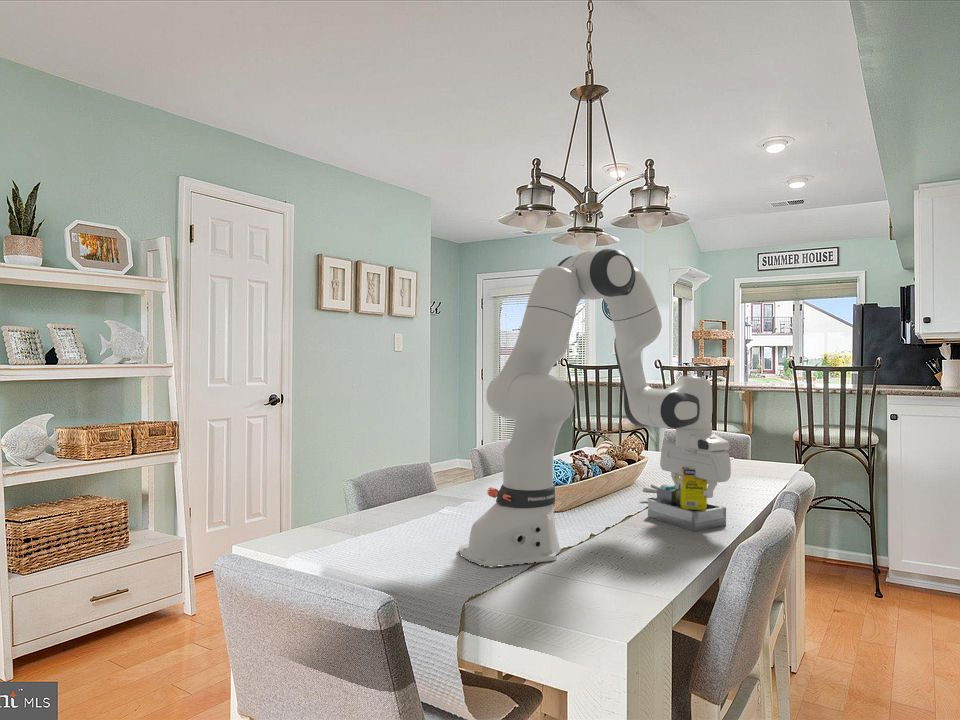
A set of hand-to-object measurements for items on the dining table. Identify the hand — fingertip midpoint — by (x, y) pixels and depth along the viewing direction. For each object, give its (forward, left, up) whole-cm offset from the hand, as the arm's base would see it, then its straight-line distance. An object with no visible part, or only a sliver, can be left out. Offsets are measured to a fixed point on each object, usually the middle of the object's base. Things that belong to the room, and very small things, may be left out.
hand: (693, 493), depth 167 cm
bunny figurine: (+13, +20, -8) cm, 25 cm away
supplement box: (0, 0, -4) cm, 4 cm away
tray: (0, +3, -8) cm, 8 cm away
